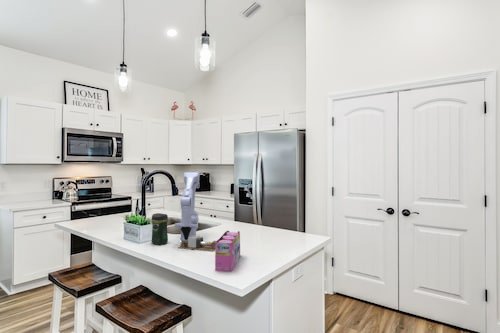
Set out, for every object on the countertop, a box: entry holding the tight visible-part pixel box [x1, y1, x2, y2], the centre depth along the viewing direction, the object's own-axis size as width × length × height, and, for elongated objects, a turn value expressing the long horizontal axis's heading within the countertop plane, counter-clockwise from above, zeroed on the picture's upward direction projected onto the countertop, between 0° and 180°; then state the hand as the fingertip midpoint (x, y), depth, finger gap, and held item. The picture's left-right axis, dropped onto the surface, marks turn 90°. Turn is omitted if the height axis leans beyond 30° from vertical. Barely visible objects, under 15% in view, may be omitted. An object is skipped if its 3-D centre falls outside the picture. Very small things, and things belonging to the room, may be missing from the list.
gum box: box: [214, 230, 241, 272], centre depth 146 cm, size 24×8×14 cm, turn 171°
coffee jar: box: [151, 212, 169, 246], centre depth 179 cm, size 10×8×19 cm
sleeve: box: [188, 235, 201, 248], centre depth 171 cm, size 5×5×6 cm
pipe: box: [181, 240, 213, 246], centre depth 170 cm, size 21×2×2 cm, turn 76°
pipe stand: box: [177, 240, 217, 252], centre depth 170 cm, size 22×9×4 cm, turn 76°
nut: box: [197, 237, 204, 248], centre depth 170 cm, size 2×5×5 cm, turn 166°
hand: (186, 239), depth 172 cm, fingers closed
